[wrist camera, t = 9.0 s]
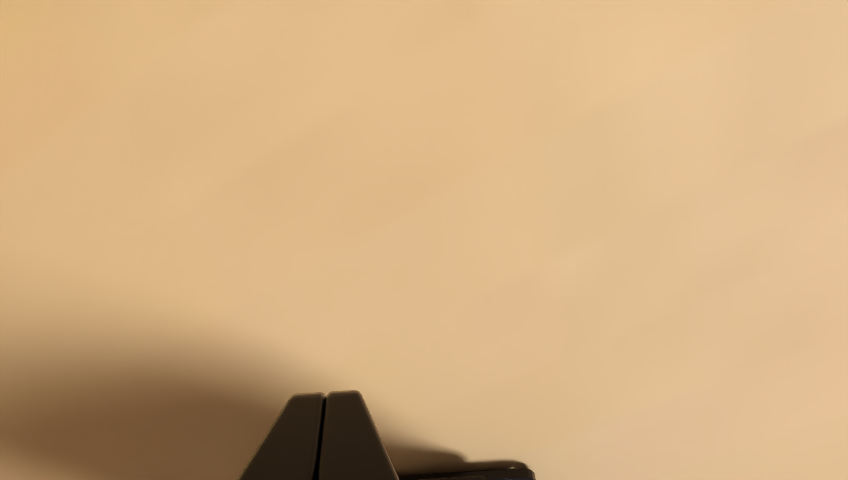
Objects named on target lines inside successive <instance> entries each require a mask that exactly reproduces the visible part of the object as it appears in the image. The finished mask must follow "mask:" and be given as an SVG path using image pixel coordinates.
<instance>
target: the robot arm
mask: <svg viewBox="0 0 848 480" xmlns="http://www.w3.org/2000/svg"><path fill="white" fill-rule="evenodd" d="M238 480H536V479H535V474H534V472H533V471H532V470H529V469H524V468H520V469H504V470H489V471H473V472H458V473H442V474H427V475H411V476H397V473H396V471H395V469H394V467H393V464H392V462H391V460H390V458H389V455H388V453H387V451H386V449H385V446H384V444H383V442H382V440H381V437H380V435H379V433H378V431H377V428H376V426H375V424H374V422H373V419H372V417H371V415H370V413H369V410H368V408H367V406H366V404H365V401H364V399H363V397H362V395H361V393H360V392H359V391H356V390H351V391H334V392H330V393H328V395H327V397H326V396H325V394H323V393H320V392H318V393H302V394H295V395H293V396H292V397H291V398H290V399H289V400H288V402H287V403H286V405H285V406H284V408H283V410H282V411H281V413H280V414H279V416H278V417H277V419H276V421H275V422H274V424H273V425H272V427H271V428H270V430H269V431H268V433H267V435H266V436H265V438H264V439H263V441H262V442H261V444H260V445H259V447H258V449H257V450H256V452H255V453H254V455H253V456H252V458H251V459H250V461H249V463H248V464H247V466H246V467H245V469H244V470H243V472H242V474H241V475H240V477H239V478H238Z"/></svg>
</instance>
